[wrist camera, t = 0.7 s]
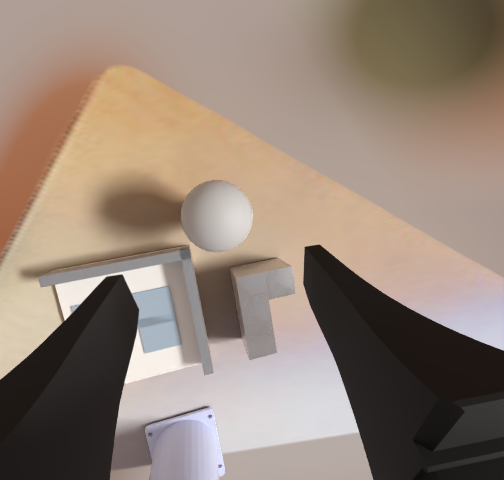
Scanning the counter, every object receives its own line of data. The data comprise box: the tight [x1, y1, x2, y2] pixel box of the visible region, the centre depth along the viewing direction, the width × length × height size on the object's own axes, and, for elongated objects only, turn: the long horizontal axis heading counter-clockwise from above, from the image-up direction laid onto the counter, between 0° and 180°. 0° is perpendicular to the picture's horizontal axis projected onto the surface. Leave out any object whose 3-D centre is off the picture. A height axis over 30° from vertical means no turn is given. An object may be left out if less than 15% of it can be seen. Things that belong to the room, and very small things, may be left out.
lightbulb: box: [181, 180, 253, 252], centre depth 26 cm, size 6×6×11 cm
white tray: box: [38, 245, 213, 384], centre depth 30 cm, size 14×14×3 cm
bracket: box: [230, 258, 296, 360], centre depth 32 cm, size 9×6×5 cm, turn 9°
